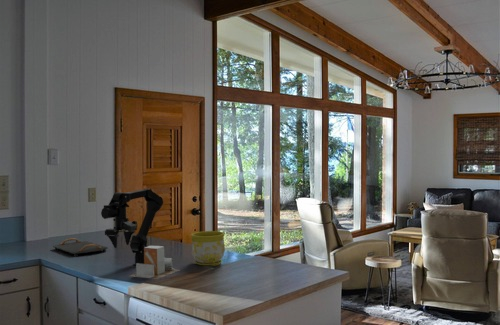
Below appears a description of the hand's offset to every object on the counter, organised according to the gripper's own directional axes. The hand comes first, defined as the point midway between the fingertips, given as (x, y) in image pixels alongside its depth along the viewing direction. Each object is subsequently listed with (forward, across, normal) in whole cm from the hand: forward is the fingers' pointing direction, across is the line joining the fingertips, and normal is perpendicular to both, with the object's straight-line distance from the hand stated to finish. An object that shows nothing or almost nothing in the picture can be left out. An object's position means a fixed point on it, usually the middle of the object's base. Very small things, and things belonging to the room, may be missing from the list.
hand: (121, 246), depth 275 cm
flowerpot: (+12, +27, -36) cm, 47 cm away
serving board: (+13, +31, +61) cm, 70 cm away
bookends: (+11, -3, -24) cm, 26 cm away
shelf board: (+12, -3, -24) cm, 27 cm away
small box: (+11, -3, -23) cm, 26 cm away
